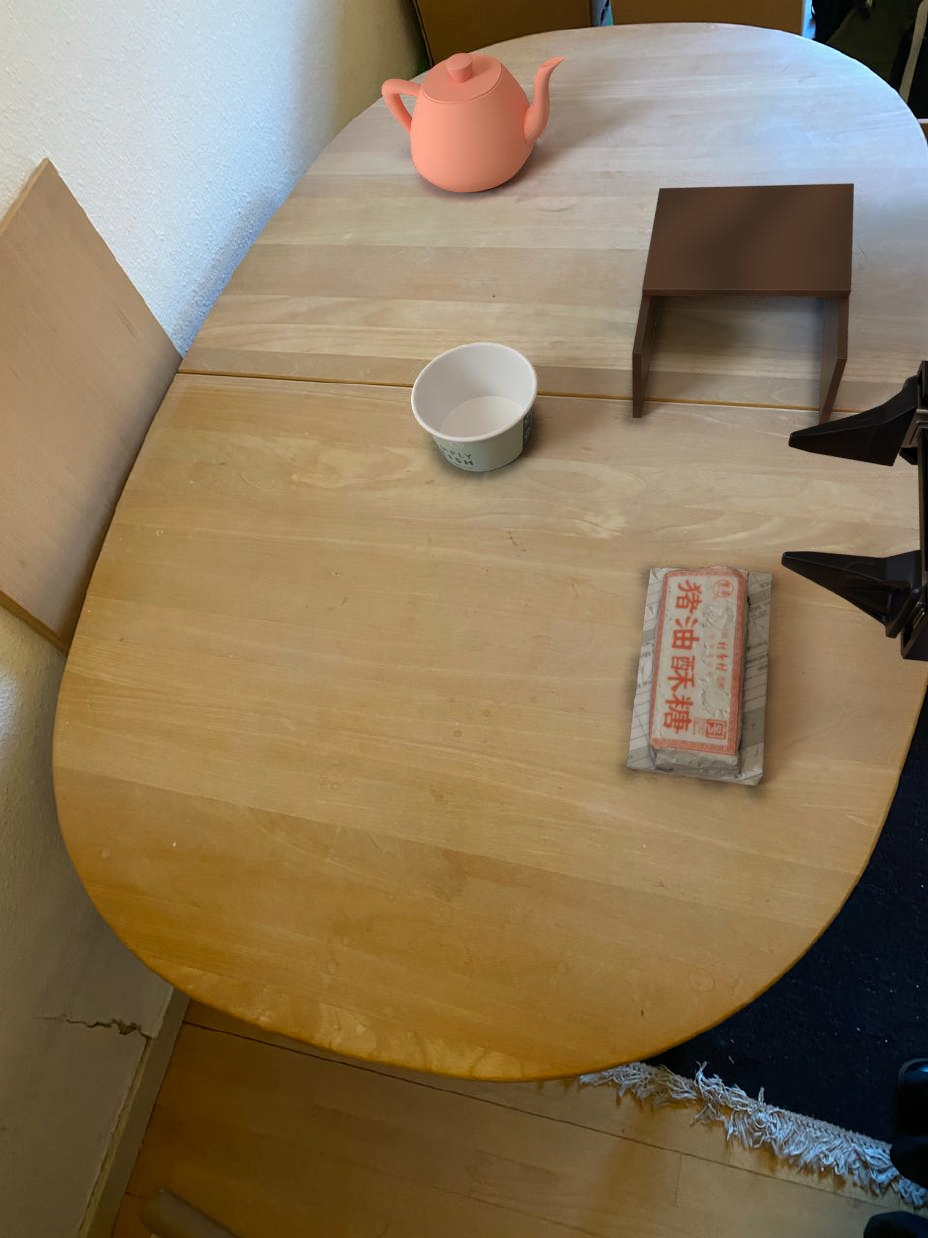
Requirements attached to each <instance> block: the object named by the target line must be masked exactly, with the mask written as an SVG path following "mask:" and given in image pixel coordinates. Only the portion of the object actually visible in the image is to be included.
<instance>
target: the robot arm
mask: <svg viewBox="0 0 928 1238" xmlns="http://www.w3.org/2000/svg"><path fill="white" fill-rule="evenodd" d="M787 445H788V447H789V448H792V449H797V450H798V451H803V452H806V453H810V454H816V455H822V456H827V457H832V458H839V459H844V460H850V461H857V462H861V463H868V464H873V465H879V466H885V467H890V468H891V467H894V465H895V462H896V460H897V458H898V456H899V457H900V458H901V459H902V460H904V461H905V462H907V463H908V464H909V465H911V466H917V484H918V485H917V487H918V528H919V529H918V530H919V531H918V532H919V533H918V535H919V549H914V550H911V551H906V552H902V553H898V554H894V555H893V554H892V555H890V556H884V557H880V556H879V557H877V556H869V555H868V556H867V555H859V554H858V555H856V554H847V553H846V554H845V553H837V552H834V553H833V552H825V551H812V550H791V551H788V550H787V551H784V552H783V553H782V556H781V559H780V564H781V565H782V566H783V567H784V568H786V569H788V570H789V571H792V572H794V573H796V574H797V575H799V576H800V577H803V578H805V579H807V580H808V581H810V582H812V583H814V584H816V585H817V586H819V587H822V588H824V589H825V590H827V591H829V592H831V593H833V594H835V595H836V596H838V597H840V598H841V599H844V600H845V601H847V602H848V603H850V604H851V605H853V606H854V607H856V608H858V610H860V611H862V612H864V614H867V615H868V616H869V617H871V618H872V619H874V620H875V621H877V622H878V623H880V624H881V625H882V626H884V631H885V633H884V635H885V637H886V638H889V639H894V640H895V639H897V637H898V636H899V635H900V656H901V658H902V660H907V661H916V662H926V663H928V360H926V359H925V360H921V362H920V365H919V366H918V369H917V372H916V374H914V375H912V376H909V377H906V379H905V380H904V382H903V385H902V387H901V390H900V391H899V392H897V393H896V394H895V395H893V396H892V397H891V398H890V399H888V400H887V401H885V402H883V403H882V404H880V405H877V406H875V407H872V408H870V409H867V410H864V411H861V412H858V413H855V414H852V415H848V416H845V417H841V418H837V419H834V420H831V421H830V420H829V422H827V423H823V424H820V425H818V424H816V425H812V426H809V427H805V428H802V429H798V430H795V431H792V432H791V433H790V434H789V437H788V443H787Z"/></svg>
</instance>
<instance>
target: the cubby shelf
mask: <svg viewBox="0 0 928 1238" xmlns="http://www.w3.org/2000/svg"><path fill="white" fill-rule="evenodd" d="M854 197H855V183H854V182H851V183H816V184H815V183H811V184H809V183H808V184H775V185H774V184H773V185H772V184H771V185H768V184H767V185H733V186H732V185H730V186H729V185H728V186H727V185H726V186H695V187H694V186H691V187H690V186H689V187H687V186H686V187H660V188H659V189H658V194H657V200H656V205H655V211H654V217H653V223H652V229H651V235H650V241H649V246H648V251H647V259H646V263H645V269H644V276H643V281H642V287H641V298H640V299H641V300H640V305H639V311H638V315H637V322H636V329H635V333H634V334H635V335H634V339H633V346H632V351H631V375H632V376H631V381H632V386H631V387H632V389H631V390H632V393H631V394H632V418H635V419H641V418H642V414H643V408H644V401H645V396H646V389H647V382H648V377H649V370H650V363H651V357H652V351H653V345H654V339H655V333H656V328H657V327H656V326H657V320H658V314H659V308H660V302H661V297H752V298H753V297H759V298H761V297H763V298H764V297H765V298H766V297H767V298H769V297H771V298H772V297H773V298H777V297H778V298H784V297H785V298H823V313H822V333H821V334H822V335H821V354H820V355H821V357H820V377H819V378H820V380H819V381H820V382H819V399H818V400H819V401H818V420H817V421H818V424H817V425H820V424H823V423H827V422H830V420H831V416H832V413H833V409H834V406H835V403H836V399H837V395H838V393H839V389H840V386H841V382H842V379H843V375H844V372H845V369H846V365H847V363H848V358H849V357H848V355H849V322H850V321H849V320H850V319H849V318H850V297H851V294H852V283H853V282H852V280H853V279H852V276H853V243H854V241H853V239H854V201H855V198H854Z"/></svg>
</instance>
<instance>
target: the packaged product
mask: <svg viewBox="0 0 928 1238" xmlns="http://www.w3.org/2000/svg"><path fill="white" fill-rule="evenodd" d="M648 578H649V579H648V586H647V594H646V602H645V607H644V608H645V609H644V617H643V627H642V636H641V646H640V654H639V661H638V670H637V680H636V681H637V682H636V689H635V697H634V701H633V710H632V718H631V719H632V720H631V728H630V738H629V747H628V754H627V761H626V768H628V769H633V770H641V771H646V772H652V773H657V774H665V775H669V776H670V775H671V776H679V777H687V778H688V777H689V778H695V779H696V778H697V779H704V780H710V781H719V782H724V783H725V782H726V783H732V784H739V785H745V786H758V784H760V781H761V779H762V778H763V776H764V753H765V751H764V750H765V729H766V728H765V727H766V711H767V692H768V689H767V687H768V672H769V641H770V640H769V639H770V637H769V636H770V621H771V620H770V619H771V604H772V585H773V574H772V573H763V572H749V570H748V568H745V569H744V568H739V567H733V566H732V567H731V566H729V565H715V566H710V567H697V568H675V567H674V568H673V567H663V568H658V567H653V566H651V567H650V572H649V577H648Z"/></svg>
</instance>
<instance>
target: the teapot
mask: <svg viewBox="0 0 928 1238" xmlns="http://www.w3.org/2000/svg"><path fill="white" fill-rule="evenodd" d="M563 60H564V56H562V55H560V56H556V57H552V58H550V59H548V60H547V61H544V62H543V63H542V64H541V65H539V67H538V69H537V71H536V73H535V75H534V81H533V101H532V103H530V101H529V98H528V96H527V94H526V92H525V90H524V89H523V87H522V86H521V85H520V83H519V82H518V80H517V79H516V77H514V75H513V74H512V72H511V71H510V70H509V69H508V68H507V67H506V66H505V65H504V64H503V63H502V62H501V61H500V60H499V59H498V58H496V57H493V56H491V55H487V54H483V53H467V52H460V53H459V52H458V53H455V54H453V55H451V56H449V58H446V59H443V60H442V61H440V62H438V63H437V64H435V65H434V66H433V67H432V68H431V69H430V70H429V71H428V73H427V74H426V76H425V77H424V79H423V81H422V83H421V84H420V83H417V82H415V81H410V80H407V79H401V78H390V79H387V80H385V81H384V82H383V83H382V85H381V94H382V98H383V100H384V103H385V104H386V106H387V108H388V109H389V112H391V113H392V115H393V116H394V118H395V119H396V121H397V122H398V123H399V124H400V125H401V127H403V129H404V130H405V132H407V133H408V134H409V136H410V137H409V138H410V139H409V140H410V143H409V144H410V145H409V146H410V153H411V158H412V163H413V165H414V167H415V169H416V171H417V173H419V175H420V176H421V177H422V178H423V179H425V180H427V181H428V182H429V183H431V184H433V185H434V186H435V187H438V188H440V189H442V190H445V191H449V192H454V193H455V192H456V193H477V192H481V191H486V190H488V189H493V188H496V187H498V186H500V185H502V184H504V183H506V182H507V181H509V180H510V179H512V178H513V177H514V176H515V175H517V173H519V171H520V170H521V169H522V167H523V166H524V165H525V163H526V161H527V159H528V158H529V157H530V155H531V153H532V151H533V148H534V147H535V143H536V141H537V139H539V138H540V137H541V136H542V134H543V132H544V131H545V130H546V128H547V125H548V122H549V118H550V111H551V110H550V109H551V108H550V107H551V104H550V80H551V76H552V74H553V72H554V71H555V69H556V68H557V67H558V65H559V64H561V63H562V62H563ZM400 94H401V95H404V96H409V97H414V98H415V99H416V101H415V104H414V108H413V112H412V115H411V114H410V113H409V111H408V109H407V107H406V106H405V104H404V102H403V100H402V98H401V96H400Z"/></svg>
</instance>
